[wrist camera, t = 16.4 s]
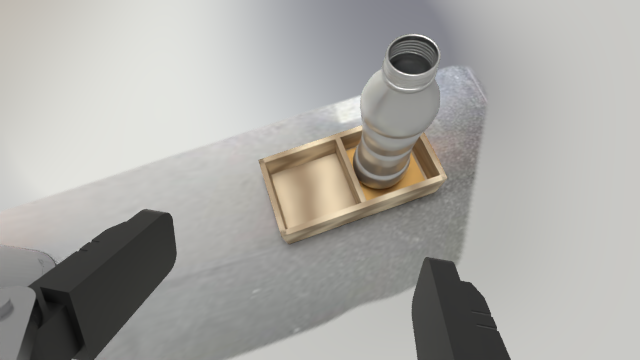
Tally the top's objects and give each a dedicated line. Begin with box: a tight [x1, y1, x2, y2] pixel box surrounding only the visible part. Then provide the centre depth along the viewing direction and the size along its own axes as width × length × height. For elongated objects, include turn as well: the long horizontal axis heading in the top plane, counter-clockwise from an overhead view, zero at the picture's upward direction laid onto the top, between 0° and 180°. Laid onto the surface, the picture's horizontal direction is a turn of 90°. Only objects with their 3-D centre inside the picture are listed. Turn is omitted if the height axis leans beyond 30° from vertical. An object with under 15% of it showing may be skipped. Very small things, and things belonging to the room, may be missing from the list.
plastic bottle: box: [353, 34, 441, 189], centre depth 31 cm, size 6×7×20 cm
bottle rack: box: [259, 125, 448, 244], centre depth 39 cm, size 20×10×5 cm, turn 109°
